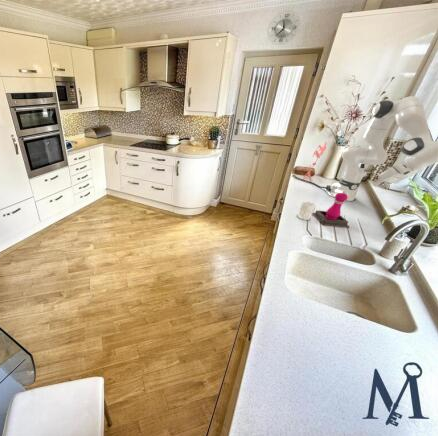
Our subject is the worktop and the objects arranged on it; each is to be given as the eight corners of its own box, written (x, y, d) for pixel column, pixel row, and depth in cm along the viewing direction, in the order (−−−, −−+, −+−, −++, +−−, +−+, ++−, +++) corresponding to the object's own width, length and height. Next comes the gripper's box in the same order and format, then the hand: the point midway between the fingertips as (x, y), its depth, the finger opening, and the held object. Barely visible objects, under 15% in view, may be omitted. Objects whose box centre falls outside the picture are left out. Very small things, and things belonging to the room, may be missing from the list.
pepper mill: (339, 222, 149) (354, 194, 139) (326, 221, 150) (340, 192, 140) (333, 217, 155) (347, 189, 145) (321, 215, 156) (335, 188, 146)
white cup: (309, 216, 157) (315, 203, 152) (310, 221, 150) (317, 208, 145) (296, 213, 159) (301, 200, 154) (297, 218, 153) (302, 205, 148)
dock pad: (311, 213, 160) (313, 209, 158) (334, 215, 159) (337, 211, 157) (323, 225, 147) (325, 220, 145) (348, 227, 146) (351, 222, 144)
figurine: (301, 182, 214) (317, 143, 197) (302, 174, 233) (317, 138, 216) (321, 185, 207) (339, 146, 190) (320, 177, 227) (337, 140, 209)
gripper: (409, 166, 132) (381, 183, 142) (394, 162, 123) (366, 180, 133) (418, 175, 129) (389, 191, 139) (403, 171, 119) (374, 188, 130)
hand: (378, 185), depth 136 cm, fingers open, 8 cm apart
